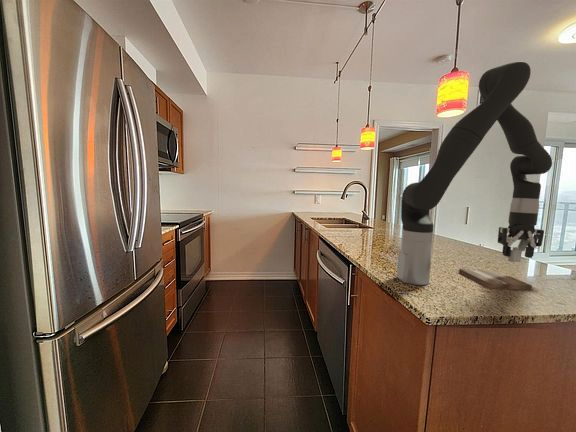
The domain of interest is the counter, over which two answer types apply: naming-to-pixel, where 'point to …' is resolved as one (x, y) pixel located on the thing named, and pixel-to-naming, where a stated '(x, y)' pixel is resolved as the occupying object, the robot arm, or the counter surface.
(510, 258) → the lighter
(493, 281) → the brown flat slab
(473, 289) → the counter surface
